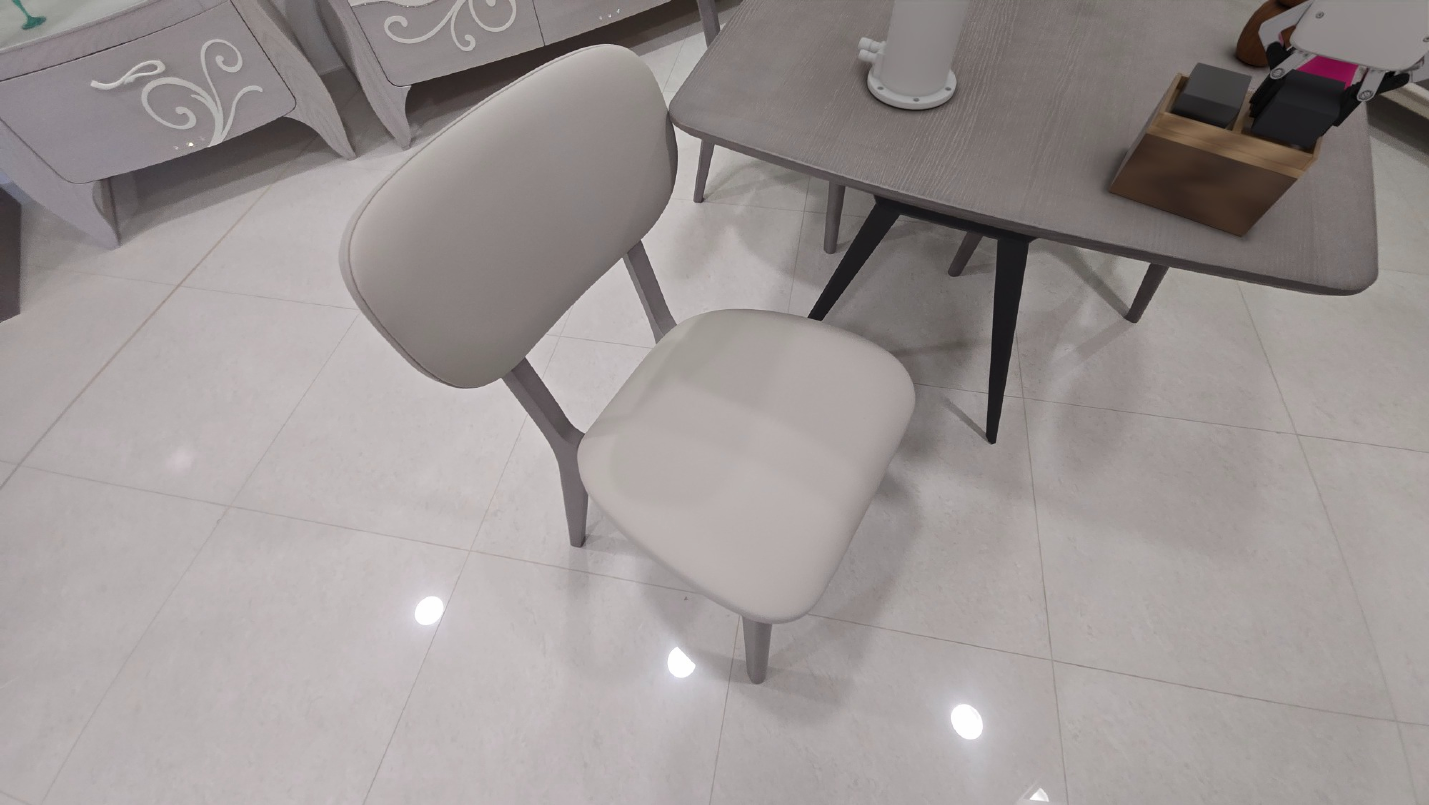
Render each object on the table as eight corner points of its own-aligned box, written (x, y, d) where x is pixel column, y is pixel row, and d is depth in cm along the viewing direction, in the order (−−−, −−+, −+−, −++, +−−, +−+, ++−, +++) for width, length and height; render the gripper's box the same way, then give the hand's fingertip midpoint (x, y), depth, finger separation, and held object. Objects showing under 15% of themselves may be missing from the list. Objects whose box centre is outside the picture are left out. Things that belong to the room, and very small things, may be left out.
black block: (1249, 131, 62) (1275, 99, 59) (1260, 98, 65) (1285, 66, 62) (1308, 148, 61) (1338, 116, 58) (1317, 113, 64) (1346, 81, 61)
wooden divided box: (1107, 191, 74) (1170, 94, 63) (1127, 151, 77) (1189, 54, 67) (1242, 237, 69) (1335, 140, 58) (1256, 192, 73) (1345, 94, 62)
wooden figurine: (1218, 52, 89) (1299, -67, 76) (1247, 43, 90) (1332, -76, 77) (1255, 75, 85) (1346, -46, 73) (1285, 66, 86) (1381, -55, 74)
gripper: (1601, -87, 46) (1384, 127, 62) (1345, -126, 52) (1205, 79, 67) (1608, -49, 43) (1378, 166, 58) (1335, -95, 48) (1191, 113, 64)
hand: (1287, 118), depth 63 cm, fingers closed on black block, 5 cm apart
